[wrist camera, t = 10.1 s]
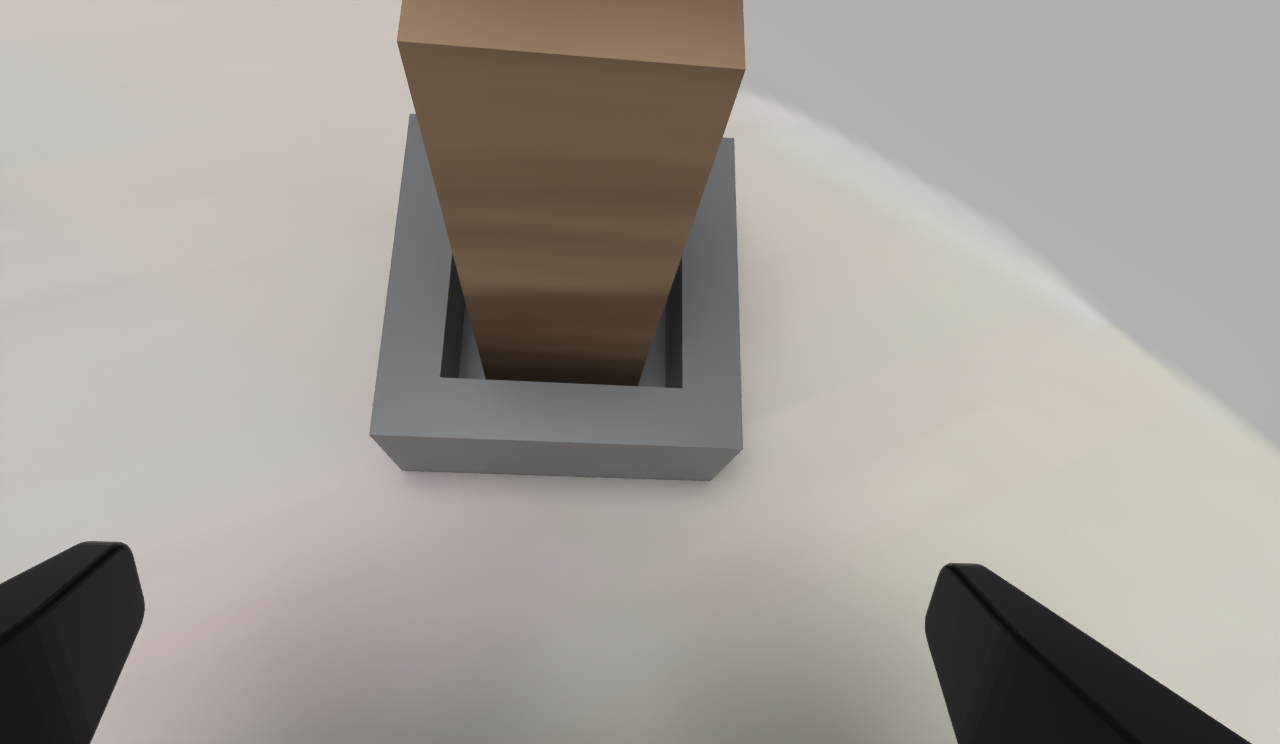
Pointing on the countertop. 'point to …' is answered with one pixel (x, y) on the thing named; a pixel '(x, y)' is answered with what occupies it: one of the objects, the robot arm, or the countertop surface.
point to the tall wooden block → (570, 165)
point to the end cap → (558, 412)
